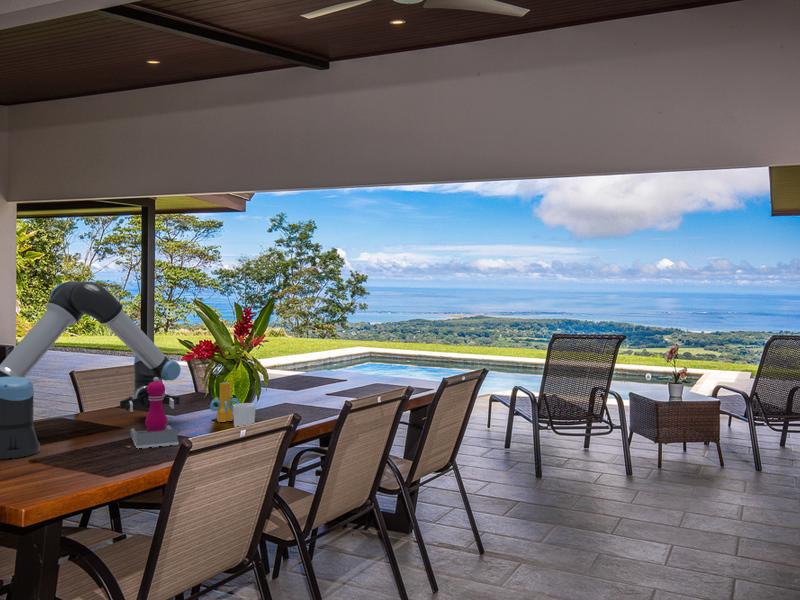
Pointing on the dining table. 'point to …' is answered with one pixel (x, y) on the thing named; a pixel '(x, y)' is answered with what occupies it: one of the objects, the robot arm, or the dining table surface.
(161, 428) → the pepper mill
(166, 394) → the robot arm
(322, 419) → the dining table surface
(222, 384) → the yellow post with rings
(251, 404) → the white cup
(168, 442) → the grey tray
